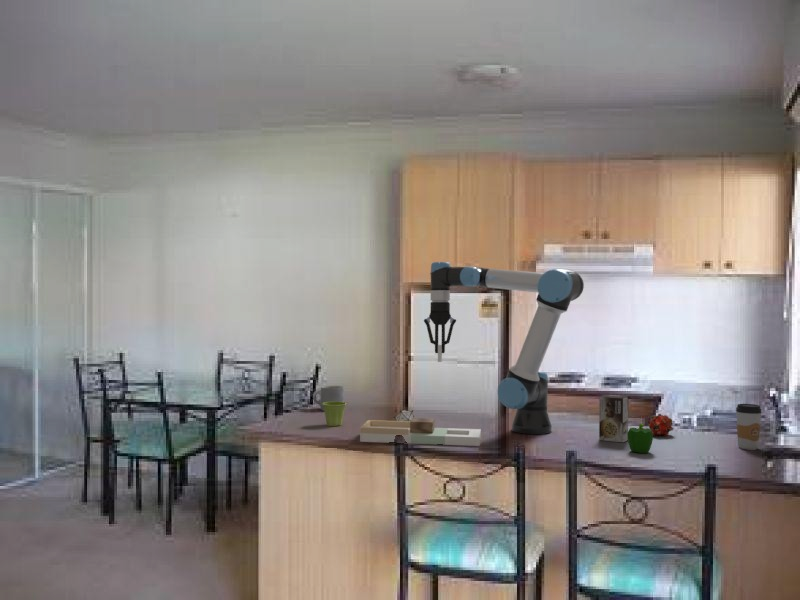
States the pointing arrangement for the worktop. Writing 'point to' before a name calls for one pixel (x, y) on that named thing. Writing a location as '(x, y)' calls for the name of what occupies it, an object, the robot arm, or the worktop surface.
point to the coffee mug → (329, 395)
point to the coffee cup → (748, 425)
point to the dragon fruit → (660, 425)
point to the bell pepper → (640, 439)
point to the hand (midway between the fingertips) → (439, 361)
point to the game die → (404, 416)
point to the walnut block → (422, 425)
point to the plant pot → (334, 413)
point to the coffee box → (613, 418)
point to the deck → (417, 434)
